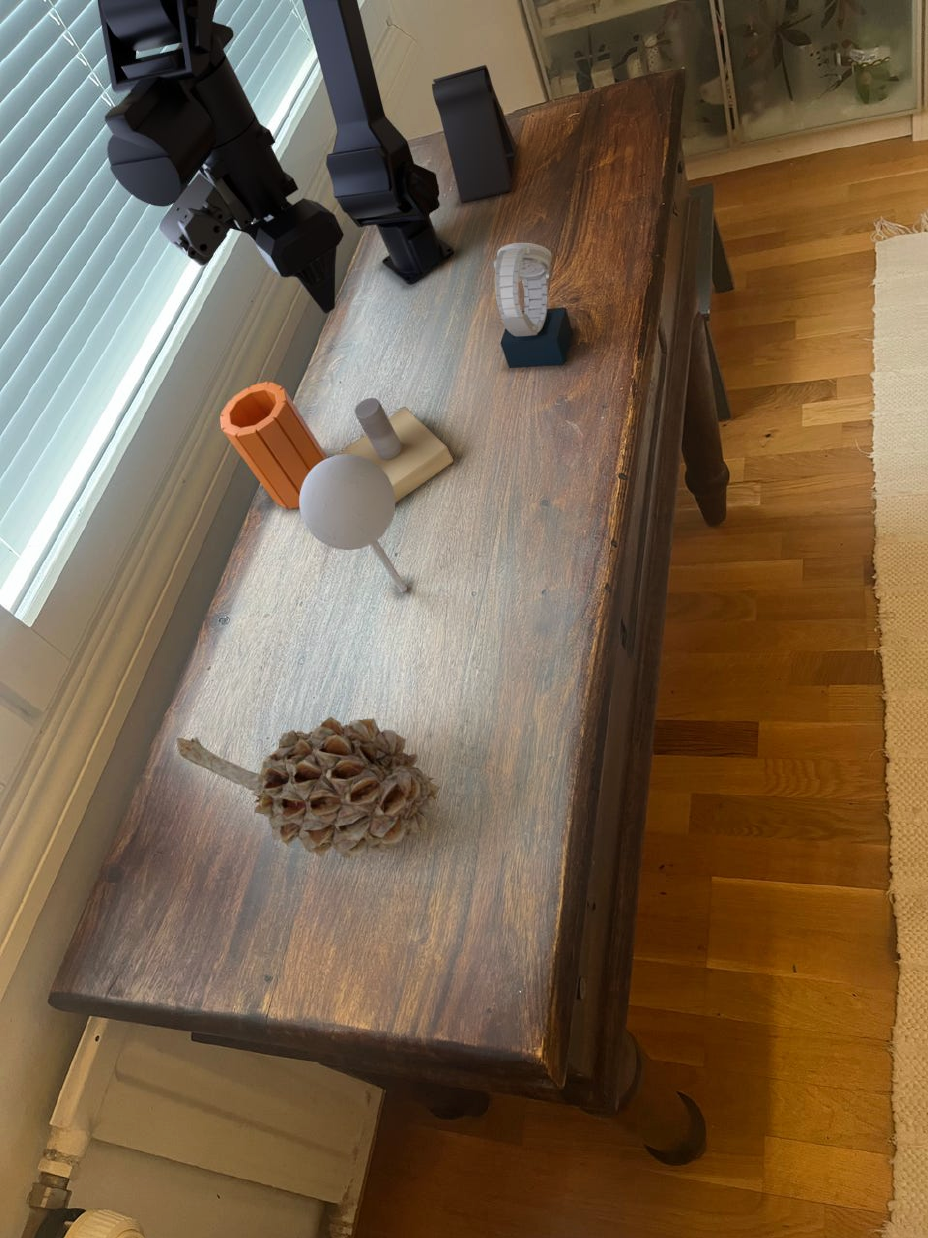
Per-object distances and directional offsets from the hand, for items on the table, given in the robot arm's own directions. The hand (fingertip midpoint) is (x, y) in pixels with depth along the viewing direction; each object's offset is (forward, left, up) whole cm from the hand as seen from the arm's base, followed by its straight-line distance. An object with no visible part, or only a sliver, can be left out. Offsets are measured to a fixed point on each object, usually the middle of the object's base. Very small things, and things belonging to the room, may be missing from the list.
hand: (309, 292), depth 86 cm
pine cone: (+39, -25, -12) cm, 48 cm away
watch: (+11, +15, -12) cm, 23 cm away
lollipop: (+26, -10, -12) cm, 30 cm away
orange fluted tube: (+7, -11, -12) cm, 18 cm away
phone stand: (-19, +29, -12) cm, 37 cm away
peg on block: (+13, -3, -12) cm, 18 cm away
